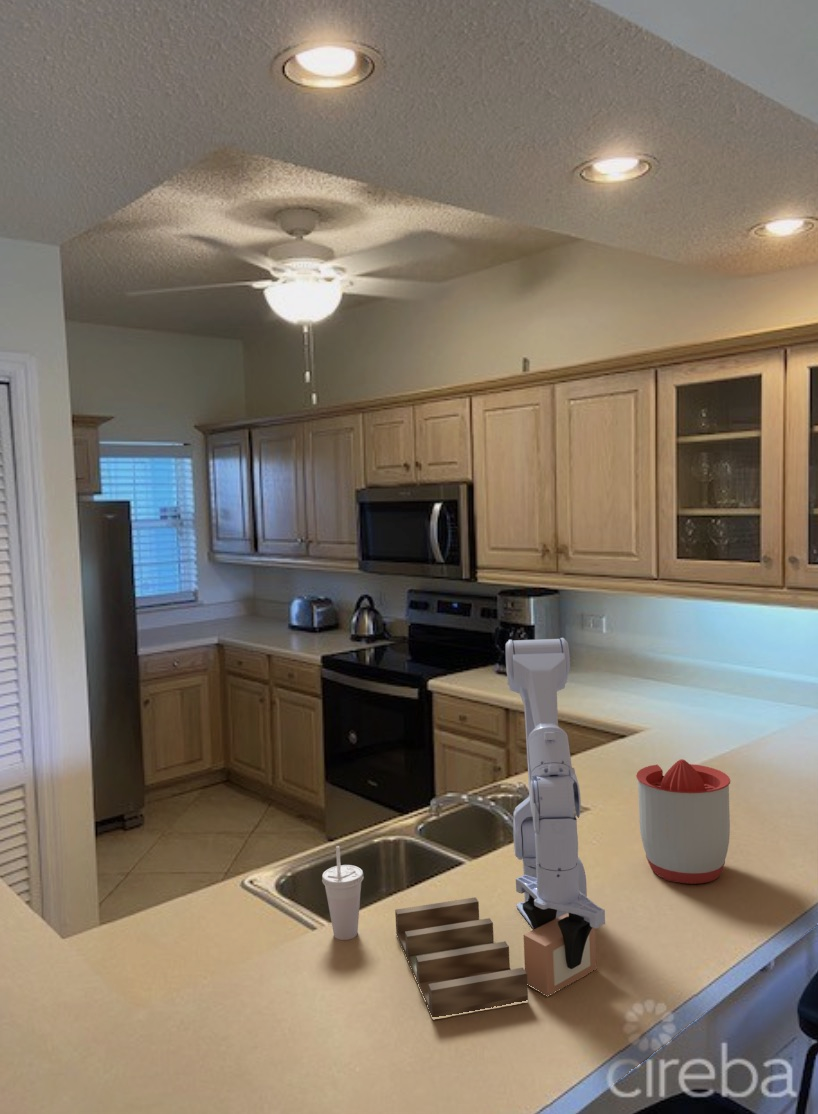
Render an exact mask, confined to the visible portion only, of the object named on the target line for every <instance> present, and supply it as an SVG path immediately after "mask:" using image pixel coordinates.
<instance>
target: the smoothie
mask: <svg viewBox="0 0 818 1114" xmlns="http://www.w3.org/2000/svg"><path fill="white" fill-rule="evenodd" d="M335 852H336V853H335V856H336V865H335V866H331V867H330V868H328V869H326V870H325V871H323V873H322V880H321V883H322V884H323V885H324V886H325V887H324V888H325V894H326V899H327V903H328V904H327V905H328V910H329V915H330V916H329V917H330V921H331V925H332V926H331V927H332V931H333V932H332V933H333V937H334V938H335V939H336V940H341V941H347V940H351V939H354V938H356V936H357V935H358V931H359V918H360V903H361V892H362V891H361V889H362V881H364V872H363V869H361V868H360V867H359V866H356V865H352V864H342V865H341V849H340V845H336V846H335Z"/></svg>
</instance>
